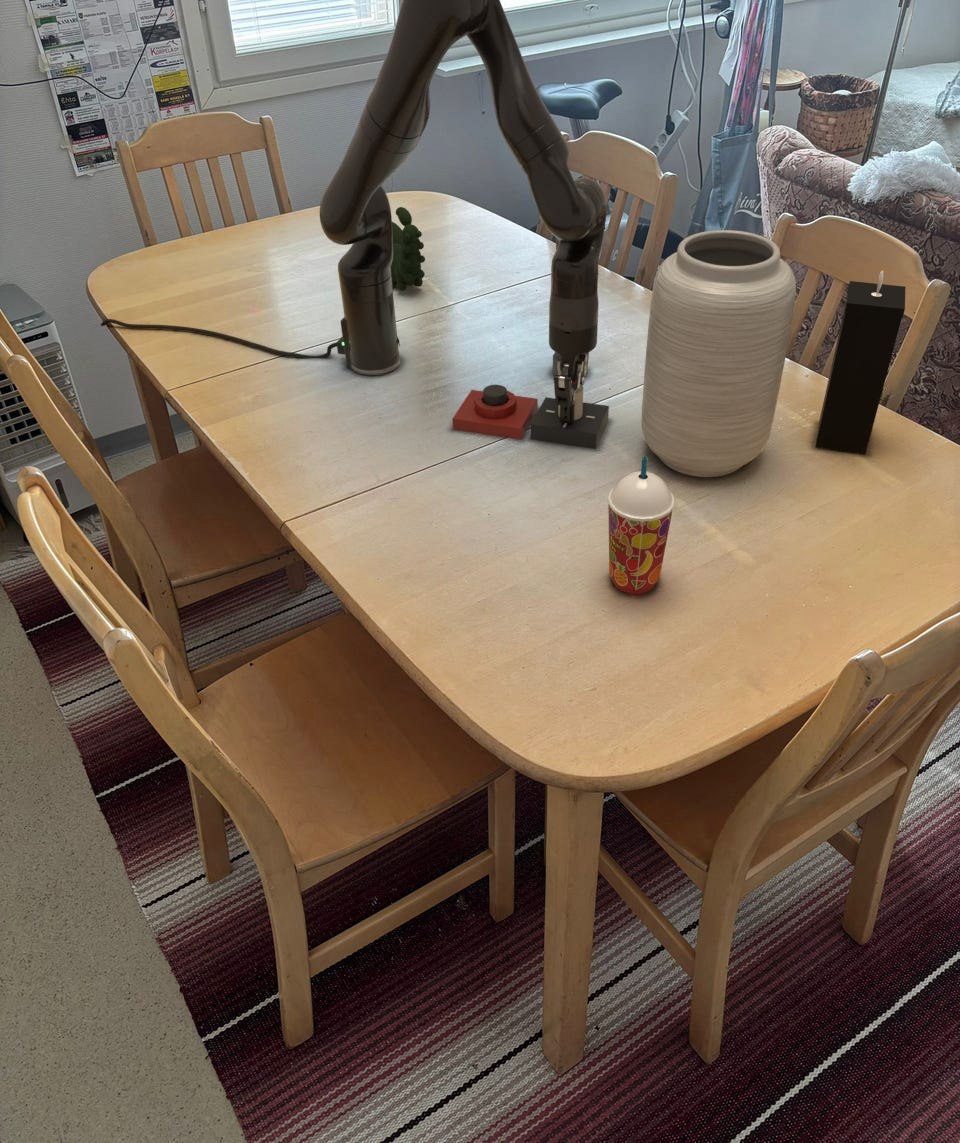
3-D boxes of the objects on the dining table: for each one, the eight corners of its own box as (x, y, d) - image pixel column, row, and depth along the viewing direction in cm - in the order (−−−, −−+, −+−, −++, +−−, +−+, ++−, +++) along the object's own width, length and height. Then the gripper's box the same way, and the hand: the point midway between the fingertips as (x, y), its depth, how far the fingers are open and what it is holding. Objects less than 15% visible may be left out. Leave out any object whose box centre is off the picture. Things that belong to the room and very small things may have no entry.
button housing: (453, 429, 163) (451, 409, 160) (472, 400, 170) (471, 380, 167) (521, 439, 159) (521, 419, 157) (537, 409, 167) (537, 389, 164)
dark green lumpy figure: (437, 300, 206) (392, 251, 221) (435, 214, 192) (386, 168, 208) (397, 310, 202) (353, 260, 218) (391, 224, 189) (345, 176, 205)
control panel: (530, 439, 159) (530, 423, 157) (545, 412, 166) (545, 396, 164) (595, 449, 157) (596, 432, 154) (608, 421, 163) (609, 404, 161)
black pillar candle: (867, 430, 158) (911, 264, 140) (865, 455, 152) (911, 286, 134) (818, 423, 160) (854, 259, 142) (814, 448, 155) (851, 280, 136)
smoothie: (598, 564, 134) (605, 442, 121) (657, 559, 135) (670, 437, 122) (609, 604, 128) (617, 479, 115) (671, 598, 128) (686, 474, 115)
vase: (688, 503, 144) (716, 290, 123) (613, 440, 158) (626, 239, 137) (793, 465, 151) (837, 256, 129) (712, 408, 165) (739, 211, 143)
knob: (579, 422, 157) (580, 393, 154) (555, 419, 158) (556, 390, 155) (584, 409, 160) (585, 381, 157) (561, 406, 161) (561, 378, 158)
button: (480, 405, 161) (479, 394, 160) (487, 393, 164) (487, 383, 163) (503, 408, 160) (502, 397, 159) (510, 396, 163) (510, 386, 162)
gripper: (561, 295, 154) (560, 390, 165) (537, 335, 144) (537, 433, 155) (607, 300, 152) (603, 395, 163) (586, 341, 142) (582, 439, 153)
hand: (571, 413), depth 159 cm, fingers open, 4 cm apart
